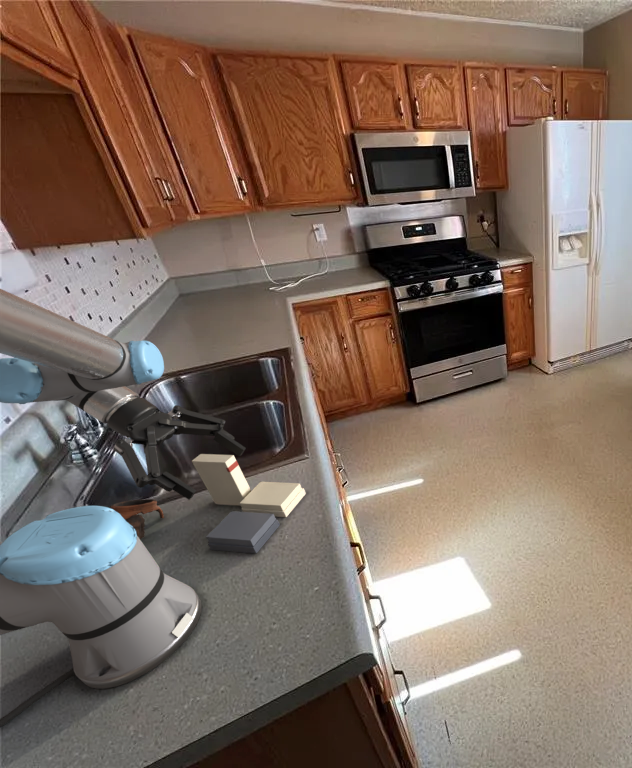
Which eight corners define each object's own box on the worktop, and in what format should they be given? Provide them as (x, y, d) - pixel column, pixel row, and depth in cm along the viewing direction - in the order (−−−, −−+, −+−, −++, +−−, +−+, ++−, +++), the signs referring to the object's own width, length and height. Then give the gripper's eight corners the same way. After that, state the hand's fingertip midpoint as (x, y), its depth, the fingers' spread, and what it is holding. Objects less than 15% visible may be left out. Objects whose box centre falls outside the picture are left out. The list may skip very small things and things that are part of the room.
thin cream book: (247, 506, 89) (225, 462, 84) (215, 504, 91) (191, 461, 85) (255, 498, 91) (234, 455, 86) (223, 496, 93) (200, 453, 87)
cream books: (286, 517, 85) (281, 506, 84) (244, 514, 87) (238, 503, 86) (305, 493, 92) (301, 482, 90) (266, 491, 93) (260, 480, 92)
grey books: (256, 553, 78) (250, 541, 76) (210, 549, 79) (203, 538, 78) (280, 524, 84) (274, 513, 82) (237, 521, 85) (230, 510, 84)
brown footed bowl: (96, 545, 83) (98, 503, 84) (157, 533, 91) (158, 495, 91) (107, 558, 76) (109, 513, 76) (172, 544, 83) (173, 503, 84)
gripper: (173, 391, 95) (254, 446, 100) (51, 460, 74) (162, 526, 78) (182, 370, 92) (265, 428, 96) (57, 436, 70) (172, 507, 75)
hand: (219, 472), depth 87 cm, fingers open, 13 cm apart
